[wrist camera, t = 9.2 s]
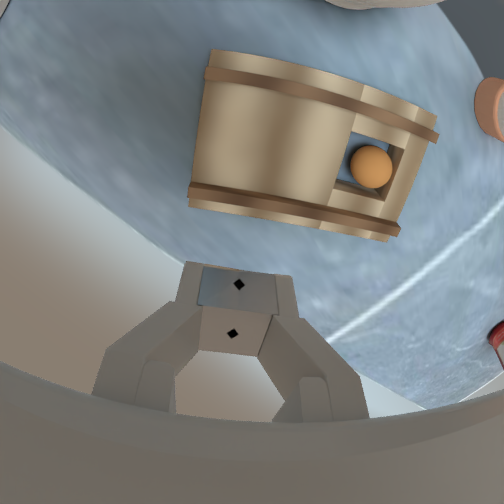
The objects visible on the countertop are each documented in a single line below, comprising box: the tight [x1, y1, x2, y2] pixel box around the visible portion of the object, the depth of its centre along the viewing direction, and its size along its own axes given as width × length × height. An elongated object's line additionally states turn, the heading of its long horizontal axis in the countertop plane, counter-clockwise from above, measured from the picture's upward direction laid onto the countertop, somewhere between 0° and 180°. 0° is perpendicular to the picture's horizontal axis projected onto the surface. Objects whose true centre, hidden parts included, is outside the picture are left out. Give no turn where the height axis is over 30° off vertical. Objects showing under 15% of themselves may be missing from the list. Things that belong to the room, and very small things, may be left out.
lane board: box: [187, 49, 439, 242], centre depth 24 cm, size 20×14×4 cm
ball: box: [351, 146, 392, 188], centre depth 25 cm, size 4×4×4 cm
